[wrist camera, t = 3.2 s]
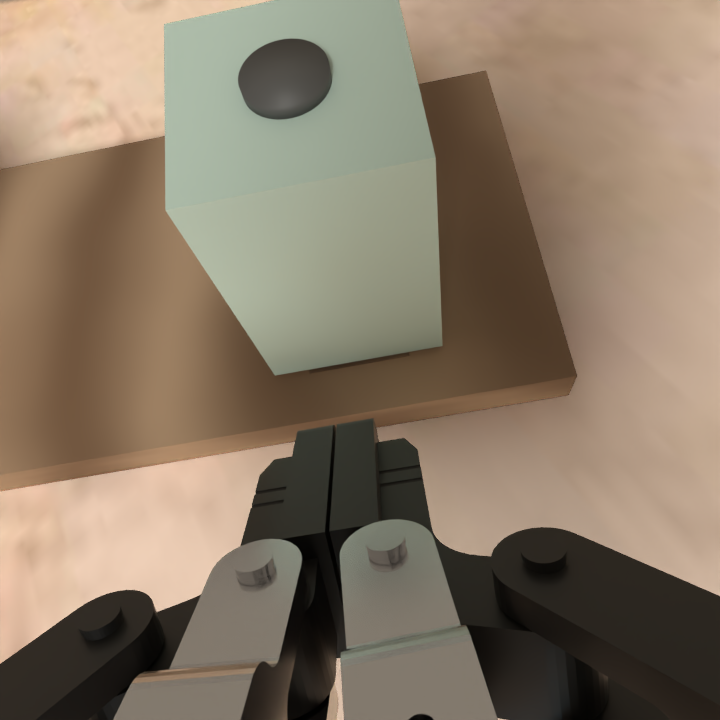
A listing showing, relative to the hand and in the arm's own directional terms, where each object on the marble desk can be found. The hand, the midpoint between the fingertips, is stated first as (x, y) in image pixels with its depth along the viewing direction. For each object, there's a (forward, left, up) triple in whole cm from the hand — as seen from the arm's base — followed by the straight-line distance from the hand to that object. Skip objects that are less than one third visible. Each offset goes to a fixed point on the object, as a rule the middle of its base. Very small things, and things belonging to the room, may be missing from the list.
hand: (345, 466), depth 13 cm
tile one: (+3, -6, -5) cm, 9 cm away
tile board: (+11, -4, -7) cm, 14 cm away
